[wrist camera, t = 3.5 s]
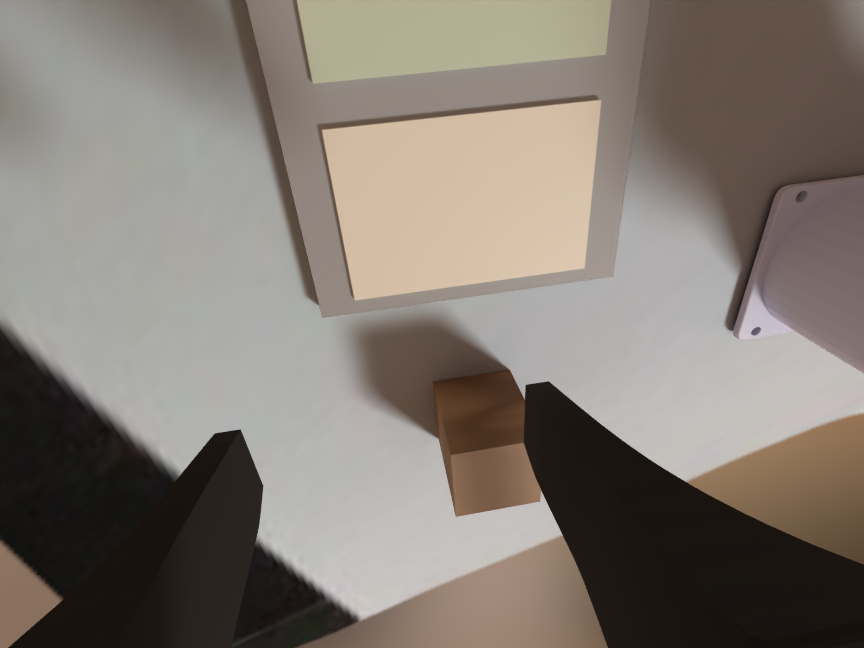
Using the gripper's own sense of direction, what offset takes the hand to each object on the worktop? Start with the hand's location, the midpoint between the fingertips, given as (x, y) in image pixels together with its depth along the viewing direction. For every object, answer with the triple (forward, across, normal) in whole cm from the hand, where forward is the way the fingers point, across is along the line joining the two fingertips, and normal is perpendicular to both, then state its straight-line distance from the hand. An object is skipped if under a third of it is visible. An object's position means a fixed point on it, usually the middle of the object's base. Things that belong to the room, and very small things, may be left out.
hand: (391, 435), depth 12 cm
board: (+9, -4, -7) cm, 12 cm away
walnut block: (+10, -4, +8) cm, 13 cm away
